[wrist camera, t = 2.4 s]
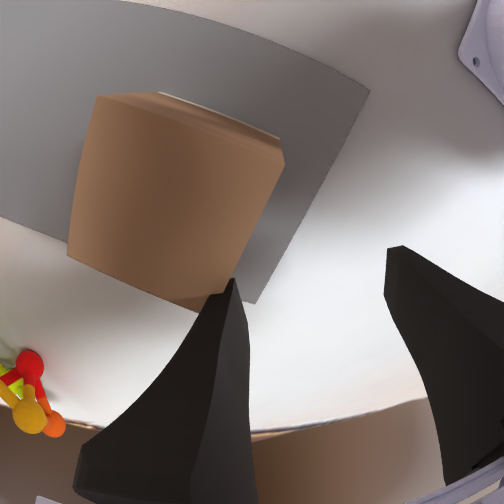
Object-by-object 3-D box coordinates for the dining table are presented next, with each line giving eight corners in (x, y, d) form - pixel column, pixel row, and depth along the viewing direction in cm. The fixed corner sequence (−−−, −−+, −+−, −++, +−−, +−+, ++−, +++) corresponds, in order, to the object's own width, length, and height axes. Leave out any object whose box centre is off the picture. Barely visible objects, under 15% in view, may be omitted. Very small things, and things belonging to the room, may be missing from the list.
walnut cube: (279, 137, 11) (284, 165, 7) (230, 243, 14) (210, 318, 9) (161, 91, 11) (97, 95, 6) (127, 200, 13) (66, 255, 9)
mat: (367, 89, 11) (370, 90, 11) (254, 300, 17) (254, 304, 17) (-16, 0, 6) (-19, 0, 6) (-41, 195, 12) (-44, 197, 12)
